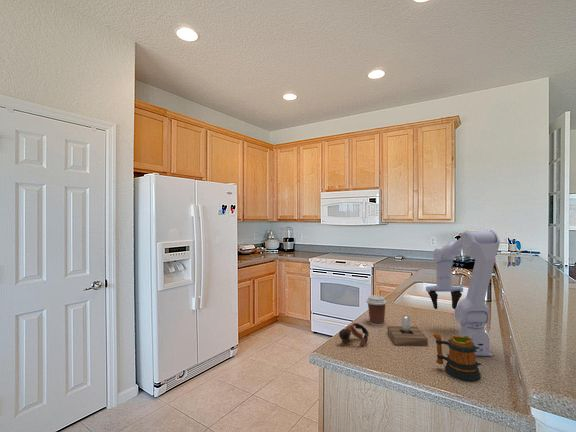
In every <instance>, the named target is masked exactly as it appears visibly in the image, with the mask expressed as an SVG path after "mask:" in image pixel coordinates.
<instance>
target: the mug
mask: <svg viewBox="0 0 576 432" xmlns="http://www.w3.org/2000/svg"><path fill="white" fill-rule="evenodd" d="M432 336H433V338H434V339H436V340H435V344H436V353H437V355H436V358H437V359H436V361H435V362H436V363H437V364H438V365H444V361H445V362H446V364H445V366H444V371H445V373H446V375H448V376H450V377H451V378H454V379H456V380H458V379H459V381H463V382H471V383H473V382H478V381H479V380H481V378H482V377H481V376H482V374H481V372H480V369H479V366H482V364H481V363H479V362H478V361H477V359H476V355H475V352H477V351H476V349H480V348H479V347H475V345H474V343H473V341H472V340H471V338H470V337H468V336H464V337H461V335H452V334H451V335H450V338H449V339H447V340H442V337H441V334H440V333H439V332H435V333H434V334H433V335H432ZM442 345H445V346H448V348H449V350H448V353H447V354H446V356H444V355H443V349H442V348H443V347H442Z"/></svg>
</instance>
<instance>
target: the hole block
mask: <svg viewBox="0 0 576 432" xmlns="http://www.w3.org/2000/svg"><path fill="white" fill-rule="evenodd" d="M387 335H388V336H389V337H390V339H391V341H392V342H393V344H394V346H413V347H414V346H415V347H416V346H418V347H428V344H429V340H428V337H427V336H426V335H425V333H424V332H422V330H421V329H420V328H419V327H418V326H415V325H414V326H411V325H410V334H402V325H387Z"/></svg>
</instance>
